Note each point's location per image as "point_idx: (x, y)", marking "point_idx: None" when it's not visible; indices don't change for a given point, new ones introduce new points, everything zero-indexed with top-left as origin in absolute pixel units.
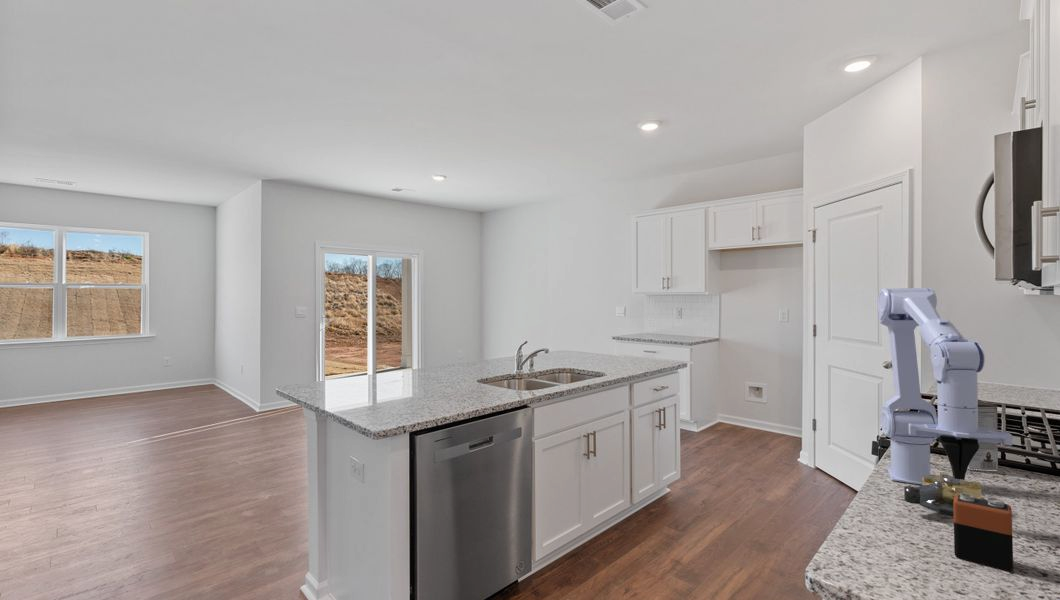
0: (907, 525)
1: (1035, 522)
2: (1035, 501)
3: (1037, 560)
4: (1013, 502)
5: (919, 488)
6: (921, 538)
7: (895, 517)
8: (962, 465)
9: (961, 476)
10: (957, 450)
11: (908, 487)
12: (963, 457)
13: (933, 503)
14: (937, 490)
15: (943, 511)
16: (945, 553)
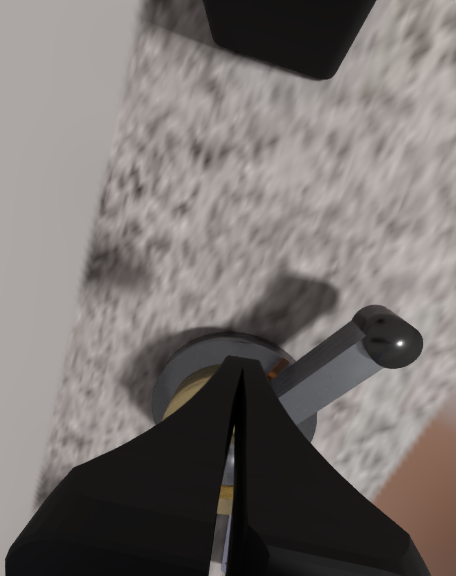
0: (407, 215)
1: (92, 352)
2: (66, 465)
3: (148, 95)
4: (104, 450)
5: (350, 375)
6: (408, 118)
7: (418, 268)
8: (228, 392)
9: (236, 362)
10: (262, 481)
11: (405, 352)
12: (216, 429)
13: (291, 364)
14: (287, 387)
15: (271, 345)
16: (381, 13)
